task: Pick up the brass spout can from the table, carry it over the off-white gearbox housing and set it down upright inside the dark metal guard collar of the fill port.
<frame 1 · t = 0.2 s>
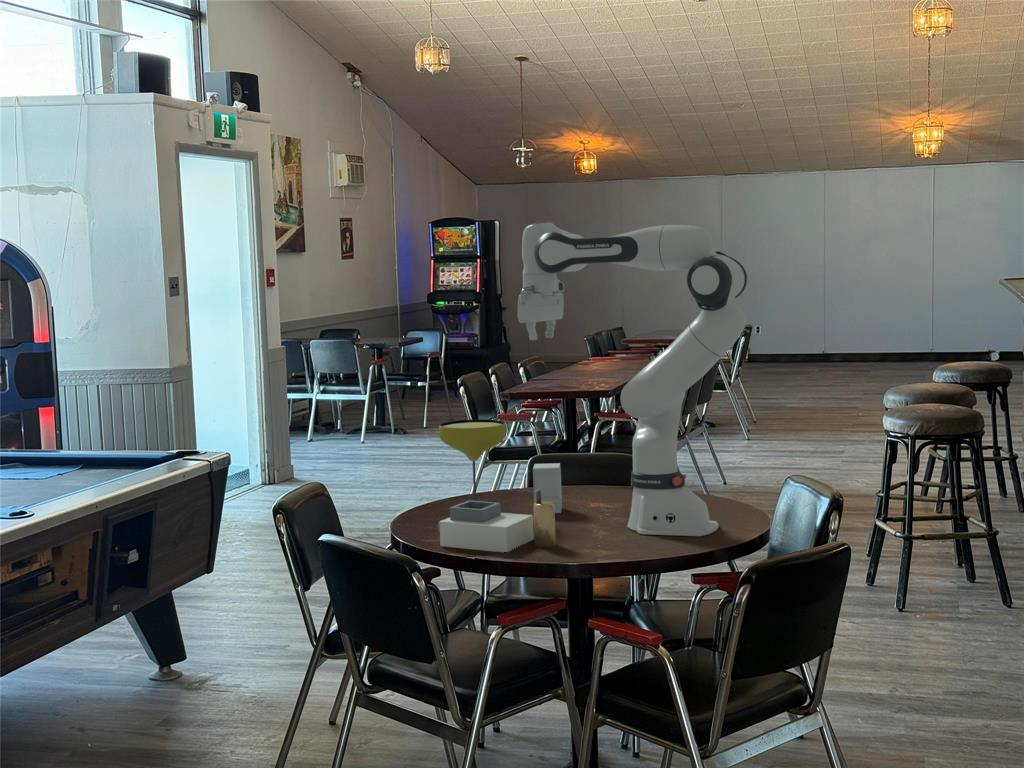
hand: (541, 338, 290), 47 cm above the table, fingers open, 8 cm apart
gearbox: (487, 542, 269), on the table
supplement box: (548, 511, 303), on the table
spout can: (544, 544, 265), on the table
cocktail glass: (475, 516, 300), on the table
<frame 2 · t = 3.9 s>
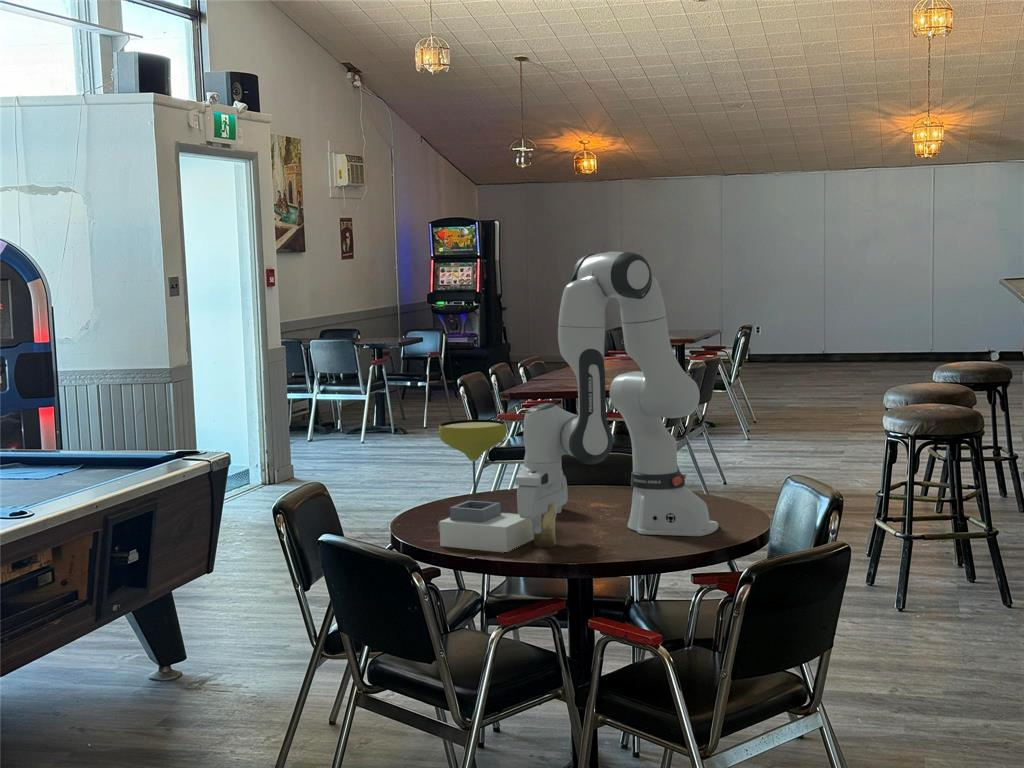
hand: (544, 529, 265), 4 cm above the table, fingers closed on spout can, 5 cm apart
spout can: (544, 544, 265), on the table, touching gripper
everything else where it was.
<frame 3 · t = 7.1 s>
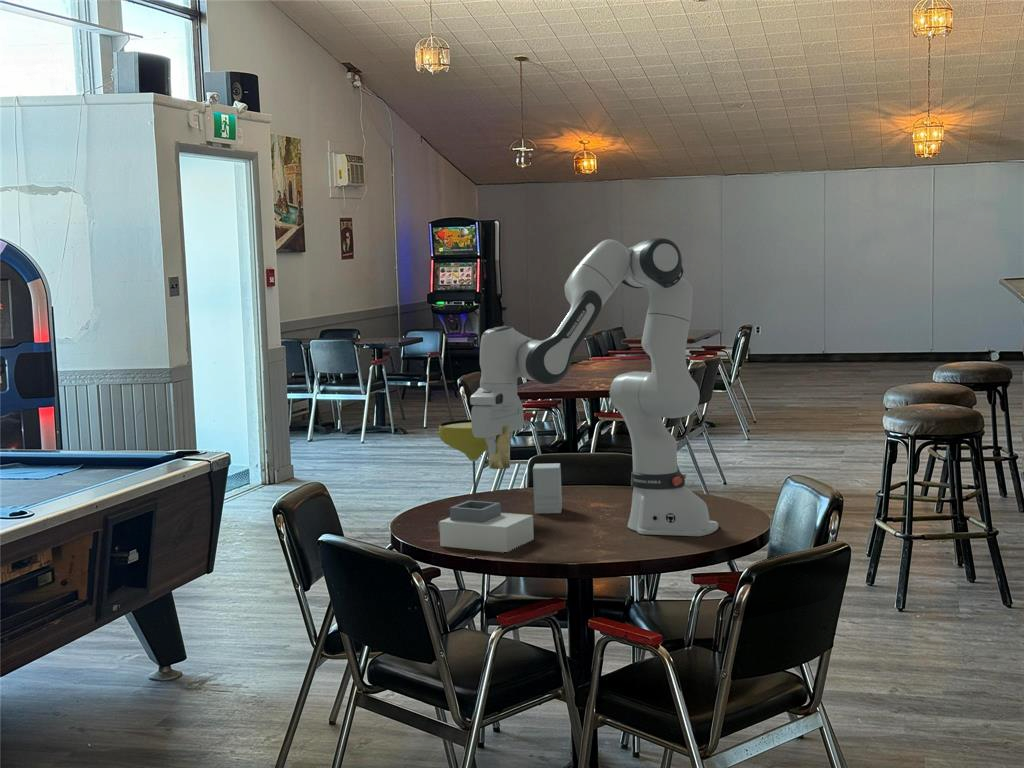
hand: (499, 452, 266), 22 cm above the table, fingers closed on spout can, 5 cm apart
spout can: (499, 467, 266), point 18 cm above the table, touching gripper
everything else where it was.
when the fingers open (11 cm above the table, at t = 9.9 s): spout can drops 1 cm, resting on gearbox.
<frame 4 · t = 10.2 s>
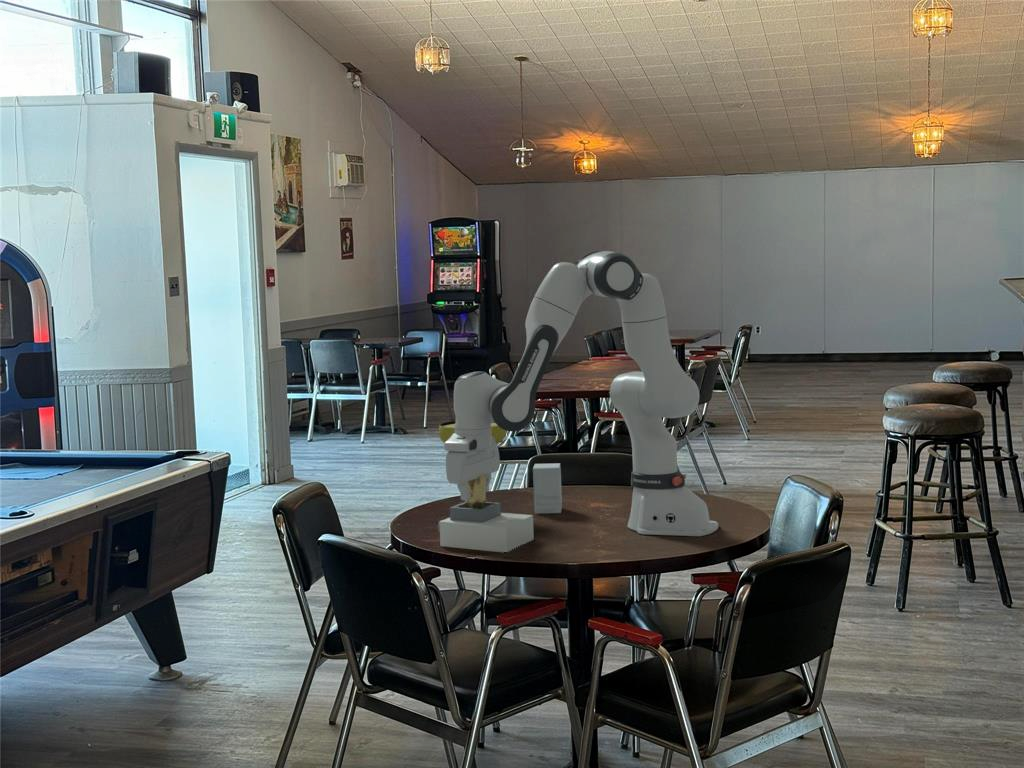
hand: (475, 495, 269), 11 cm above the table, fingers open, 8 cm apart
spout can: (475, 516, 270), point 6 cm above the table, touching gearbox
everything else where it was.
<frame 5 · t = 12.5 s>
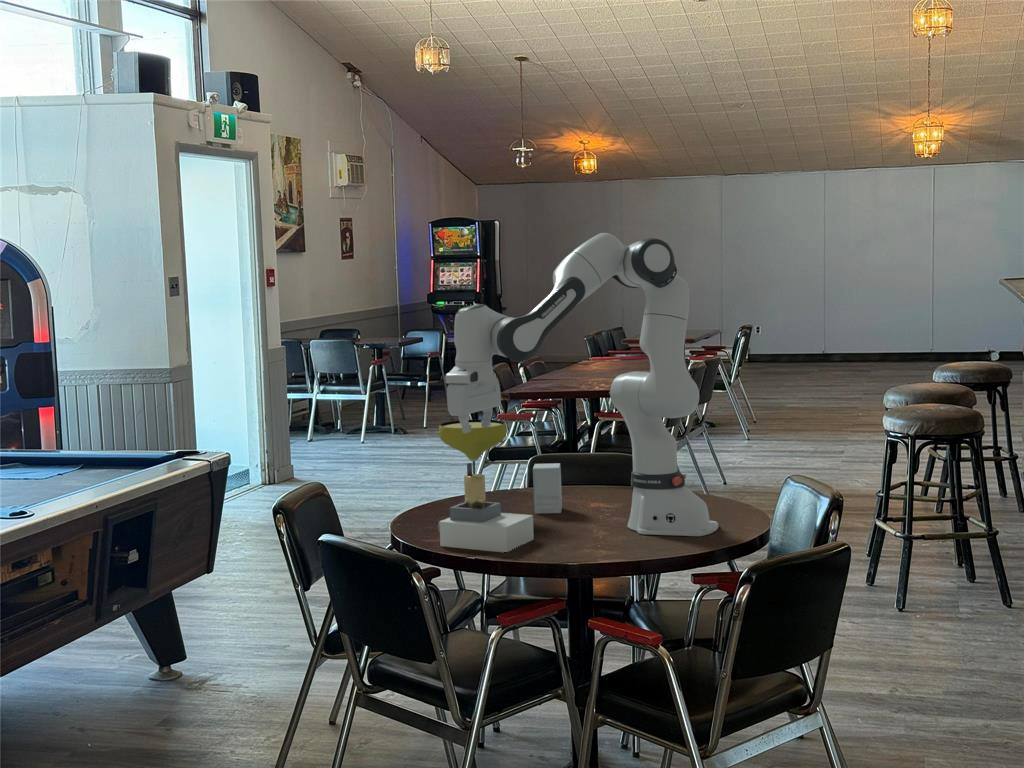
hand: (476, 429, 268), 27 cm above the table, fingers open, 8 cm apart
nothing on the table moved.
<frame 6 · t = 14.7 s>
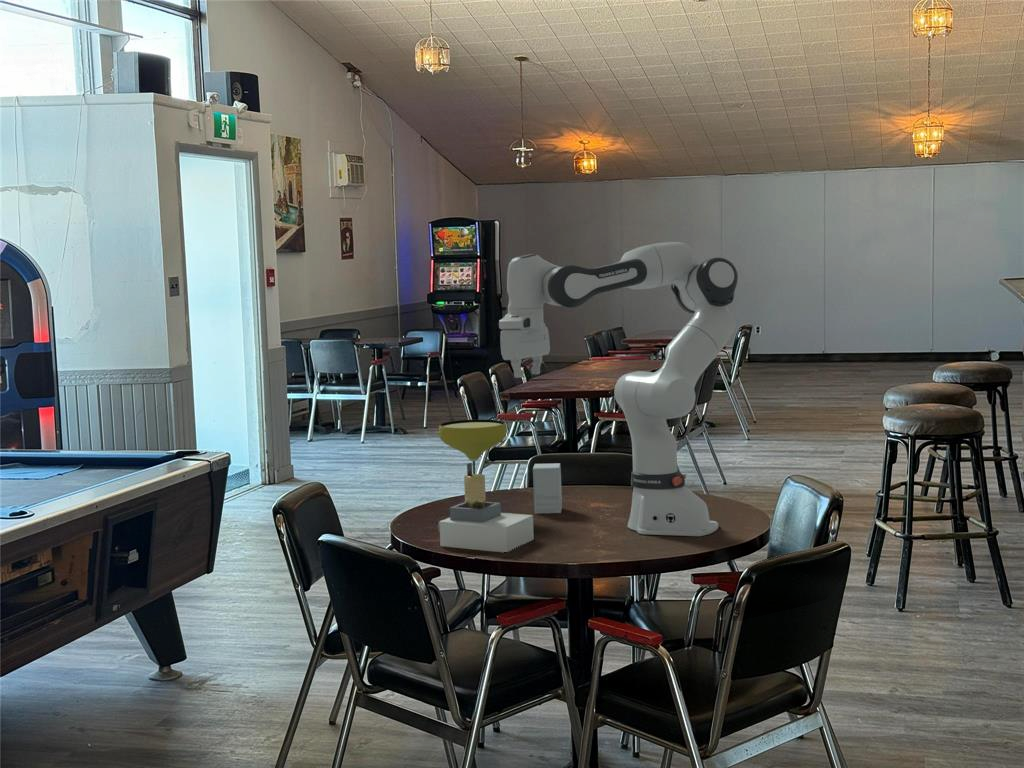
hand: (527, 375, 277), 39 cm above the table, fingers open, 8 cm apart
nothing on the table moved.
at the end: spout can 0.1 cm from the target spot on the gearbox, point 6.2 cm above the gearbox's base; spout can tilted 0°; the gripper is holding nothing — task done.
